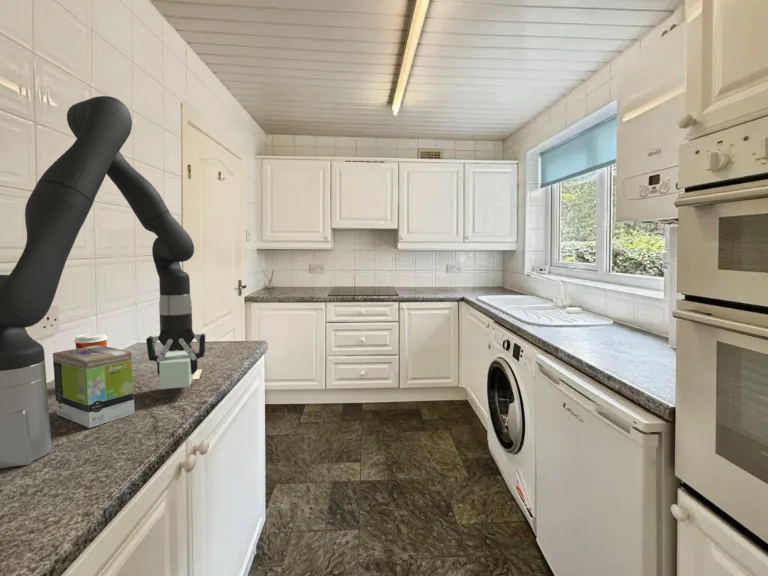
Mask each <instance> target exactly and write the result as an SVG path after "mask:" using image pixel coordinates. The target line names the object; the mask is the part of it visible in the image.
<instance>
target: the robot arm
mask: <svg viewBox="0 0 768 576" xmlns="http://www.w3.org/2000/svg"><path fill="white" fill-rule="evenodd" d="M66 122H67V124H68V125H67V126H68V128H69V129H70V131H71V132H72V134H73V136H75V138H76V139H75V141H74V142H73V144H72V145H71V146H70V147H69V148H68V149H67V150H65V152H64V153H62V155H61V156H60V157H58V158H57V159H56V160H55V161H54V162H53V163H52V164H51V165H50V166H49V167H48V168H47V169H46V170H45V172H44V173H43V174H42V175H41V177H40V178H39V180H38V181H37V182H36V184H35V186H34V189H33V190H32V192H31V194H30V195H29V197H28V200H27V201H26V204H25V209H24V222H25V230H26V242H25V246H24V249H23V251H22V253H21V255H20V257H19V260H18V261H17V262H16V264H15V266H14V268H13V269H12V270H11V272H10V273H9V274H0V469H6V468H7V469H8V468H13V467H19V466H20V467H21V466H22V467H23V466H26V465H30V464H31V463H32V462H33V461H36V460H38V459H40V458H42V457H44V456H45V455H47V454H49V453H50V452H51V451H52V449H53V448H52V446H53V445H52V444H53V443H52V434H51V433H52V431H51V423H50V410H49V399H48V397H49V396H48V384H47V371H46V369H47V368H46V359H45V358H46V357H45V349H44V346H43V345H42V344H41V343H39V342H38V341H36V340H35V339H33V338H32V337H31V336H30V335H29V333H28V332H27V329H26V328H29V327H32V326H34V325H36V324H38V323H39V322H40V321H41V322H42V320H43V319H44V318H45V317H46V315H47V314H48V312H49V310H50V308H51V306H52V304H53V302H54V300H55V295H56V293H57V290H58V287H59V283H60V281H61V277H62V275H63V271H64V269H65V266H66V262H67V260H68V258H69V256H70V253H71V251H72V248H73V246H74V244H75V243H76V242H75V241H76V239H77V237H78V235H79V233H80V230H81V229H82V226H83V225H84V223H85V221H86V220H87V218H88V215H89V212H90V211H91V209H92V206H93V205H94V202H95V199H96V196H97V195H98V192H99V191H100V188H101V186H102V185H103V182H104V179H105V178H106V176H107V177H108V178H109V179H110V180H111V181H112V182H113V184H114V185H115V186H116V187H117V189H118V190H119V192H120V193H121V195H123V197H124V199H125V200H126V201H127V203H128V205H129V206H130V208H131V210H132V211H133V213H134V215H135V217H136V218H137V219H138V221H139V222H140V224H141V226H142V227H143V228H144V229H145V230H147V231H148V232H151V233H153V234H155V236H156V238H155V239H154V241H153V243H152V247H151V248H152V250H151V252H152V253H151V254H152V258H153V263H154V265H155V270H156V272H157V275H158V279H159V280H158V282H159V301H158V309H159V311H158V313H159V335H157V336H152V335H149V336H148V337H147V338H146V339H145V342H146V347H147V350H146V351H147V356H148V360H149V361H151V362H152V361H153V362H156V365H157V366H156V369H157V374H158V375H159V376H160V373H159V363H160V361H161V360H162V358H164V357H165V355H166V354H167V352H177V351H186V352H187V354H189V356H190V357H191V359H192V360H191V374H194V373H195V372H196V371H197V370H198V359H200V358H204V356H205V352H206V337H207V336H206V333H200V334H198V333H197V334H196V333H194V331H193V312H192V311H193V306H192V305H193V304H192V298H191V297H192V296H191V285H190V284H191V283H190V281H191V280H190V279H191V278H190V275H189V273H187V272H185V271H184V270H183V269H182V266H181V263H183V262H186V261H189V260H190V259H192V257H193V256H194V253H195V246H194V242H193V239H192V238H191V236H190V235H189V233H188V232H187V231H186V230H185V228H184V227H183V226H182V225H181V223H180V222H179V221H177V220H176V218H175V217H173V215H172V213H171V212H170V210H169V209H168V207H167V204H166V203H165V201H164V199H163V198H162V196H161V194H160V193H159V191H158V190H157V189H156V188H155V186H154V185H153V184H152V183H151V182H150V181H149V180H148V179H147V178H145V177H144V176H143V175H142V174H141V173H139V172H138V170H136V169H135V168H134V167H133V166H132V164H130V163H129V162H128V161H127V159H126V158H125V157H124V156H123V155H122V153H121V151H120V150H121V149H122V148H123V146H124V144H125V143H126V141H127V140H128V138H129V136H130V135H131V131H132V128H133V119H132V116H131V112H130V110H129V109H128V107H127V106H126V104H125V103H124V102H122V101H121V100H120V99H118V98H116V97H112V96H109V95H101V96H100V95H98V96H93V97H91V98H89V99H86V100H82V101H79V102H77V103H75V104H72V105H71V106H69V109H68V110H67V113H66ZM194 339H195V341H196V342H197V343H199V345H198V346H199V347H198V348H199V349H198V352H196V351H195V349H194V347H193V346H192V344H191V343H192V341H194ZM158 341H159V343H160V344H162V346H163V348H162V350H161V352H160V353H159V355H157V354H156V347H155V346H156V345H157V343H158Z"/></svg>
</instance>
